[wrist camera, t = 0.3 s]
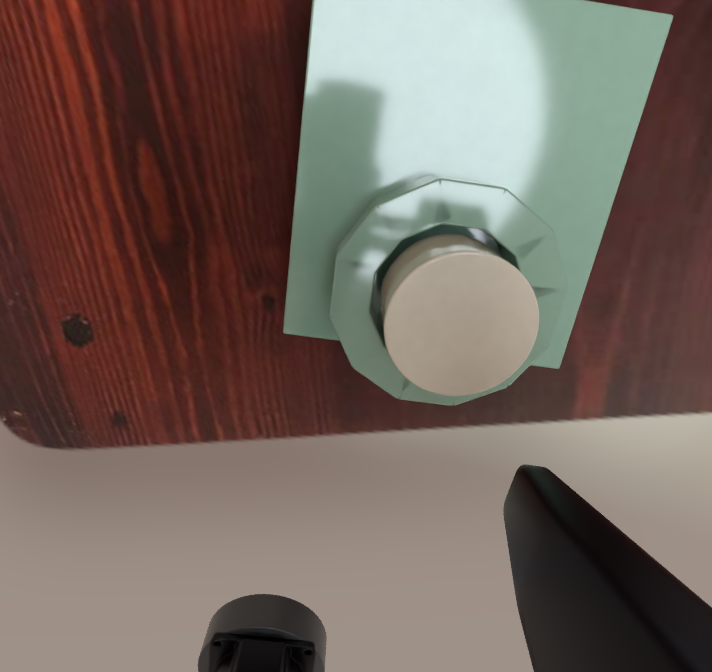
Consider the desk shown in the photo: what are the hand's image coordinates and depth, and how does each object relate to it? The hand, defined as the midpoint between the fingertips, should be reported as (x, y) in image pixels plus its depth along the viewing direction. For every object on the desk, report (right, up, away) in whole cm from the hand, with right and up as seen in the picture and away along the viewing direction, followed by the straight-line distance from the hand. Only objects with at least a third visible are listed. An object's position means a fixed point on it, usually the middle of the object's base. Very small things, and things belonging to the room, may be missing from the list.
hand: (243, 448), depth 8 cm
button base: (+5, +8, +11) cm, 14 cm away
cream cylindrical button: (+5, +3, +7) cm, 9 cm away
